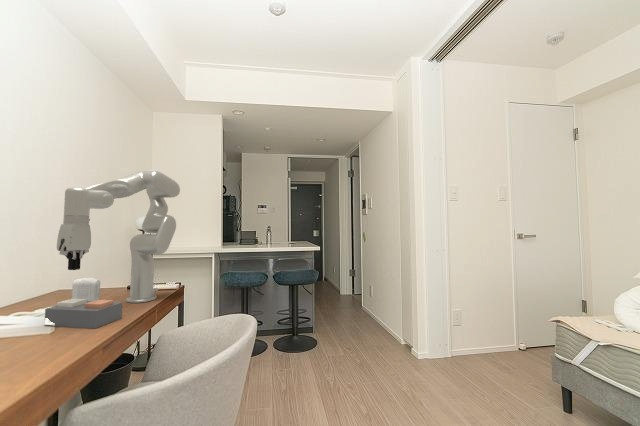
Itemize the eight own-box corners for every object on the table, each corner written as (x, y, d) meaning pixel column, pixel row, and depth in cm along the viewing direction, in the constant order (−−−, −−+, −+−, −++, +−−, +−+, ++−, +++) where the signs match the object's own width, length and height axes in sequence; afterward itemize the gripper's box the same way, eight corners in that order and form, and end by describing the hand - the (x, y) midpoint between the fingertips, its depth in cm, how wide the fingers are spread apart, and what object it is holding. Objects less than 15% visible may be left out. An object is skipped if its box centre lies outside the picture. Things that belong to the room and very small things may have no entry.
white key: (71, 310, 114) (72, 298, 114) (86, 311, 113) (86, 299, 113) (56, 314, 108) (57, 302, 108) (71, 315, 107) (72, 303, 107)
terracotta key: (98, 311, 113) (98, 299, 113) (112, 312, 112) (113, 300, 112) (84, 316, 107) (84, 303, 107) (99, 317, 106) (100, 304, 106)
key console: (75, 315, 117) (76, 300, 117) (121, 318, 115) (122, 302, 115) (44, 325, 105) (45, 308, 105) (95, 328, 103) (96, 311, 103)
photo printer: (101, 304, 133) (102, 277, 134) (95, 307, 129) (96, 278, 130) (75, 305, 132) (77, 277, 132) (69, 307, 128) (70, 278, 128)
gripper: (85, 221, 120) (82, 266, 119) (47, 220, 105) (44, 272, 104) (102, 221, 119) (99, 267, 118) (66, 220, 104) (63, 273, 103)
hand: (73, 269), depth 111 cm, fingers closed
